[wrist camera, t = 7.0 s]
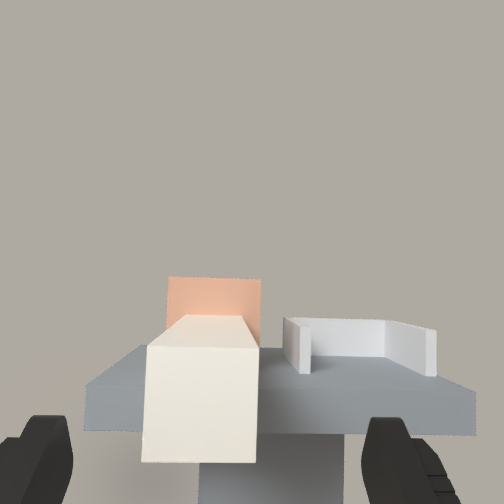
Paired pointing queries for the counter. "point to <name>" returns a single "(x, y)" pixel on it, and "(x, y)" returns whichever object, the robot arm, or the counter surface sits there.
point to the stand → (309, 405)
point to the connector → (204, 374)
